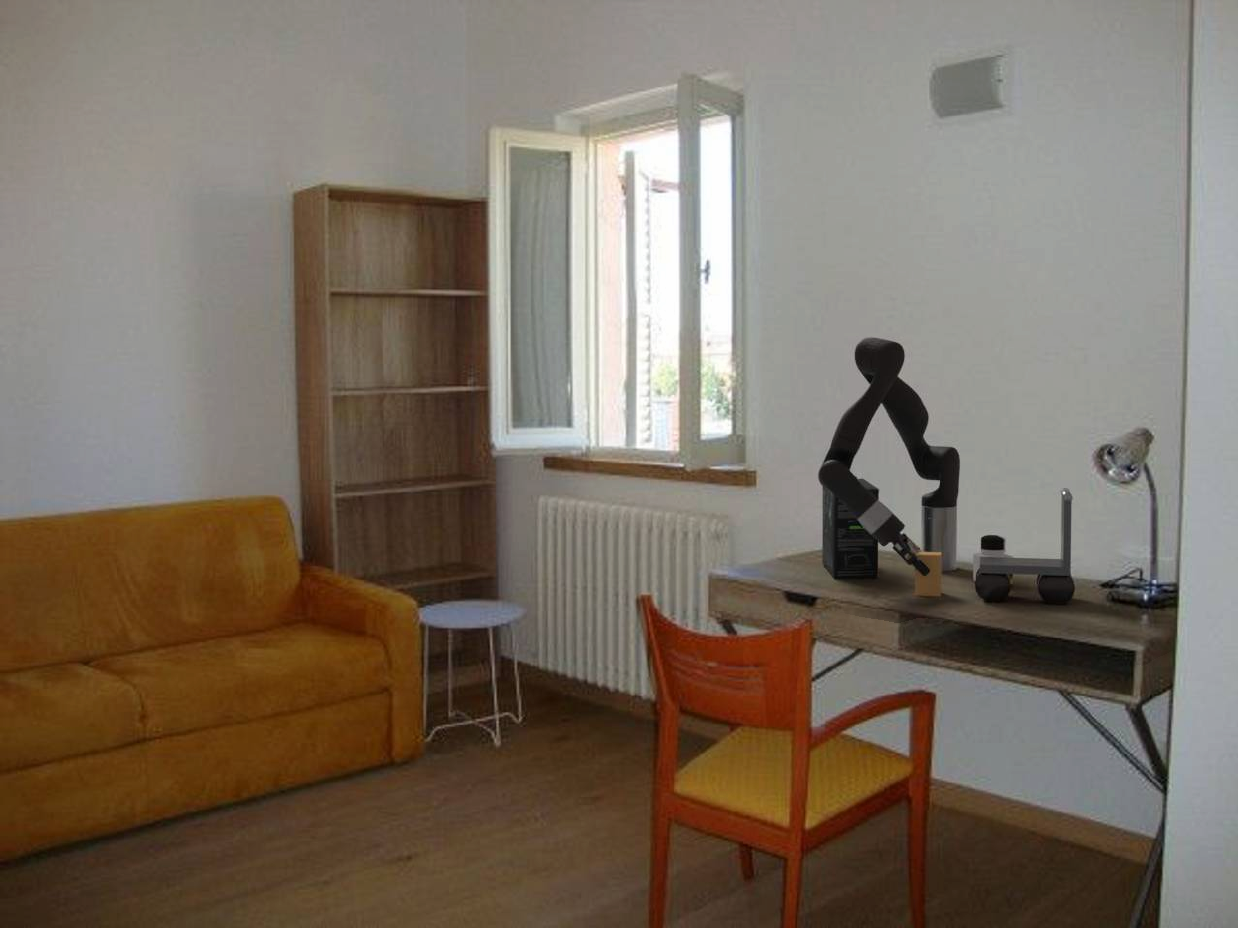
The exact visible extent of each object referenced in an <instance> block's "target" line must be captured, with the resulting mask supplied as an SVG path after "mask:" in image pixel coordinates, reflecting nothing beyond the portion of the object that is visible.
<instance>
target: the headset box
mask: <svg viewBox="0 0 1238 928" xmlns="http://www.w3.org/2000/svg"><path fill="white" fill-rule="evenodd" d="M854 476H855V477H856V478H857V480H858V481H859V482H860V483H861V484H862V485H863V486H864V487H865V488H866V489H867V490H869V491H870V492H871V493H872V494H873V495H874V496H875V497H876V498H877V500H879V499H880V497H879V493H880V489H879V488H878V487H876V486H875V485H873V484H872V483H870V482H869V481H867V479H865V478H858V476H856V475H854ZM879 501H880V500H879ZM821 544H822V546H821V547H822V550H821V551H822V564H823V565H824V567H825V568H826V570H827V571H828V572H829V574H830V575H831V576H832V577H833V579H834V580H863V579H864V580H871V579H872V580H873V579H875V580H876V579H879V542H878V541H877V540H876V539H875V538H874V537H873V536H872V535H871V534H870V533H869V532H868V531H867V530H866V529H865V528H864V527H863V526H862V525H861V524H860V522H859V521H858V519H856V518H855V517H854V516H853V515H852V514H851V513H850V512H849V511H848V510H847V509H846V507H845V506H844V505H843V503H842V501H841V500H840V499H838V498H837V497H836V496H835V495H834V494H833V493H832V492H831V491H830V490H829V489H826V488H824V487H823V486H822V543H821Z"/></svg>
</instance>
